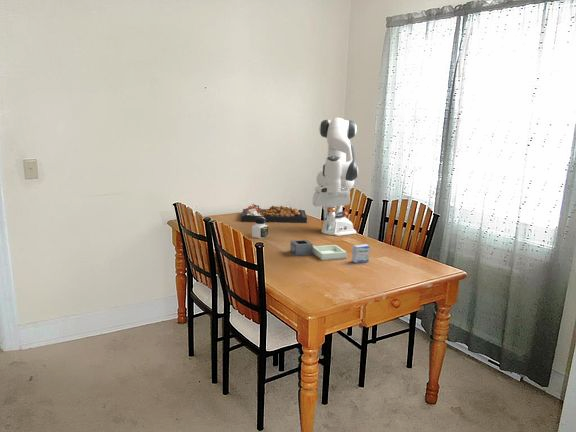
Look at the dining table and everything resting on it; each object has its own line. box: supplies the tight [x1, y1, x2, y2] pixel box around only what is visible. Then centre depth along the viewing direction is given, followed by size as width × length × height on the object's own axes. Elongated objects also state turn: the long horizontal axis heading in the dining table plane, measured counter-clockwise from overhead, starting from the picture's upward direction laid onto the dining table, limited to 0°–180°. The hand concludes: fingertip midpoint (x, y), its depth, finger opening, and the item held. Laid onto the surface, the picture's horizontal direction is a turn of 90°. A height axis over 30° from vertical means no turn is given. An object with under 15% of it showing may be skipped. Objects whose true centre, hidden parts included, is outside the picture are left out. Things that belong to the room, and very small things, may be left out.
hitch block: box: [289, 239, 314, 257], centre depth 259 cm, size 9×9×6 cm
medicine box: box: [351, 243, 370, 264], centre depth 247 cm, size 8×4×9 cm, turn 117°
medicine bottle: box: [251, 217, 269, 240], centre depth 288 cm, size 7×7×12 cm
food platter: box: [240, 203, 308, 224], centre depth 337 cm, size 45×25×10 cm, turn 92°
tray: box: [312, 244, 348, 261], centre depth 256 cm, size 14×14×4 cm
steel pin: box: [326, 207, 335, 231], centre depth 252 cm, size 4×4×12 cm
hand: (330, 213), depth 251 cm, fingers closed on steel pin, 4 cm apart
